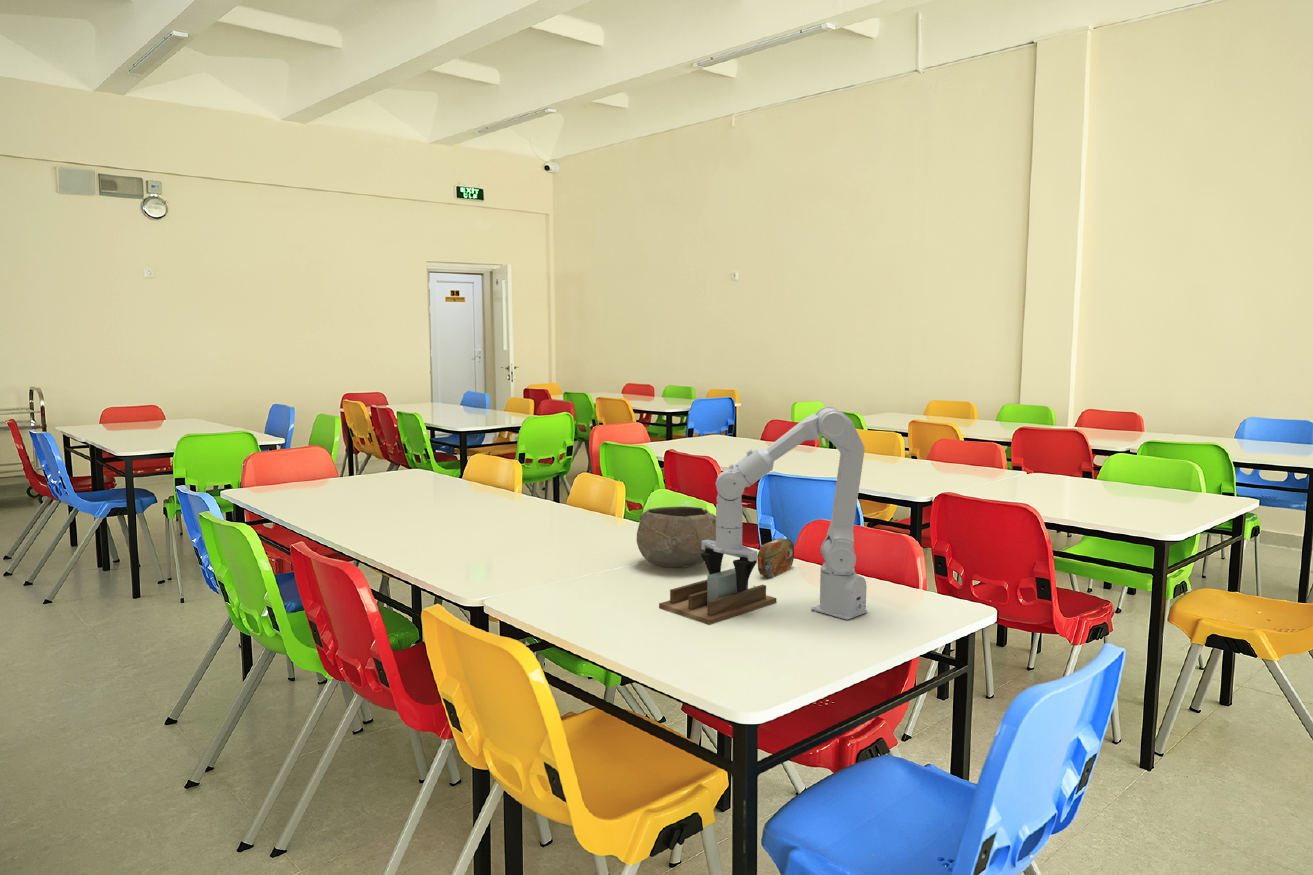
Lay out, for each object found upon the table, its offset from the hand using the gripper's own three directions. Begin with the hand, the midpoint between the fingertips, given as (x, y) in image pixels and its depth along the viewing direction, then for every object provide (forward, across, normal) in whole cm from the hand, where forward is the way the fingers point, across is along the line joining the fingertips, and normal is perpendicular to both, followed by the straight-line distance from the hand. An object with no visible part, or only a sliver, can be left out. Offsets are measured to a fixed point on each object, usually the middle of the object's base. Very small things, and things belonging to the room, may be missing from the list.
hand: (728, 587), depth 185 cm
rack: (+5, -3, 0) cm, 5 cm away
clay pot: (+5, -32, +16) cm, 36 cm away
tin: (+5, -11, +30) cm, 32 cm away
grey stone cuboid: (+4, 0, 0) cm, 4 cm away
